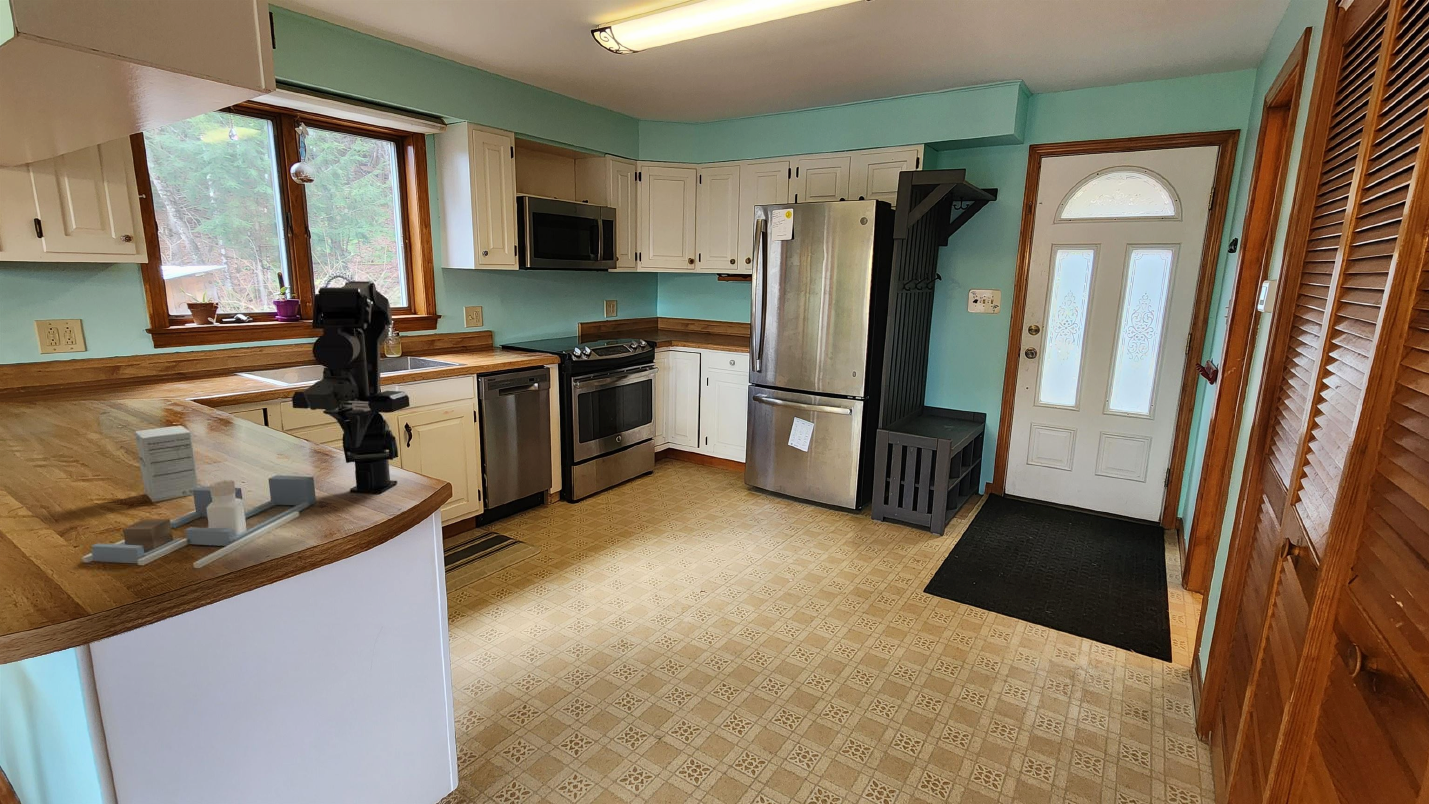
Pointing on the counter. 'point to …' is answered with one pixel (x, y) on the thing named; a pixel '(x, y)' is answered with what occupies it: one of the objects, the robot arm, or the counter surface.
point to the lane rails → (214, 555)
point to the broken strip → (136, 552)
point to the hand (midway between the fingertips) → (355, 446)
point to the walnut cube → (148, 533)
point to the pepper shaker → (226, 508)
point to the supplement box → (167, 462)
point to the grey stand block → (281, 493)
